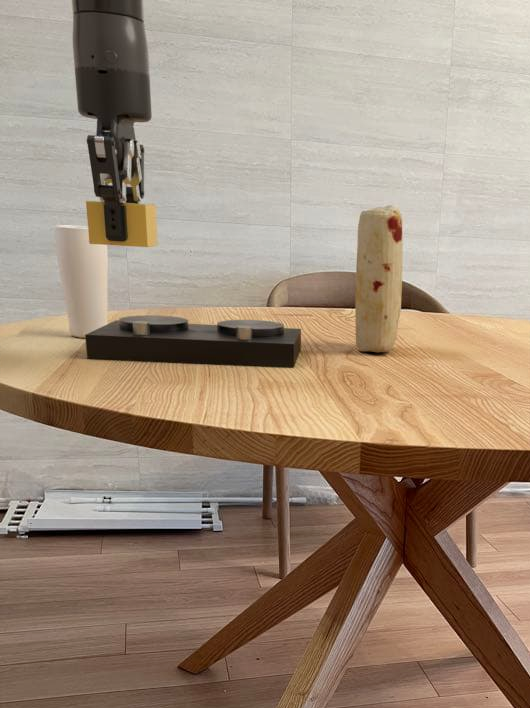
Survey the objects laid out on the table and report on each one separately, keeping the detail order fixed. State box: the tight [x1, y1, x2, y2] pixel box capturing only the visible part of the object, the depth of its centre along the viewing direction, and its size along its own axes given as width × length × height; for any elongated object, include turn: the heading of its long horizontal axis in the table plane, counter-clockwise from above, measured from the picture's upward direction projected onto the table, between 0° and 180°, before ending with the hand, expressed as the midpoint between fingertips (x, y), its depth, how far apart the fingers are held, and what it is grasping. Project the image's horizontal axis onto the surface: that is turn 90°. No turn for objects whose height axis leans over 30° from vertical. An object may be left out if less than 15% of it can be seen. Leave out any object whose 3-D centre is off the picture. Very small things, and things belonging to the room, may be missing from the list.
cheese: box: [85, 200, 159, 248], centre depth 93 cm, size 6×5×4 cm
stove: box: [84, 314, 302, 369], centre depth 111 cm, size 26×14×5 cm, turn 93°
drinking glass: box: [54, 224, 109, 339], centre depth 118 cm, size 7×7×15 cm
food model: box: [354, 204, 404, 353], centre depth 118 cm, size 10×7×20 cm
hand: (123, 239), depth 93 cm, fingers closed on cheese, 4 cm apart
